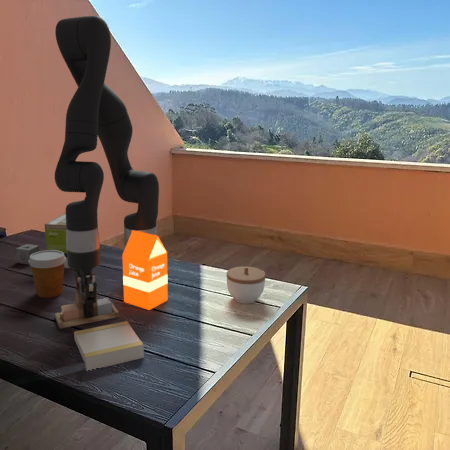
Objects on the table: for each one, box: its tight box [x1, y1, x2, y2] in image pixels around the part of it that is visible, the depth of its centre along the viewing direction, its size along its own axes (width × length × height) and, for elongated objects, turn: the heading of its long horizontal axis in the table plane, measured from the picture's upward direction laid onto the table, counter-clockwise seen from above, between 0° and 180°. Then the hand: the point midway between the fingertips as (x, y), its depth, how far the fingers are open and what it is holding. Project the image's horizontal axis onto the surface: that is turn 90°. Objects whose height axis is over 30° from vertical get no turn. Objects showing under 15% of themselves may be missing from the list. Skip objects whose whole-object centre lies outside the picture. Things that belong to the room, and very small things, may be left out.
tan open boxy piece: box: [54, 289, 120, 329], centre depth 115 cm, size 14×6×8 cm, turn 118°
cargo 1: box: [60, 302, 79, 322], centre depth 113 cm, size 3×3×3 cm
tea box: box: [44, 212, 71, 269], centre depth 155 cm, size 15×10×15 cm, turn 172°
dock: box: [73, 320, 145, 372], centre depth 102 cm, size 12×12×3 cm
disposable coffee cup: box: [28, 249, 66, 299], centre depth 128 cm, size 10×10×12 cm
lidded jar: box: [226, 266, 267, 305], centre depth 130 cm, size 11×11×9 cm
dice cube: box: [15, 243, 41, 266], centre depth 155 cm, size 5×5×5 cm
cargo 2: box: [97, 297, 112, 315], centre depth 117 cm, size 3×3×3 cm
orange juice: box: [121, 230, 169, 311], centre depth 123 cm, size 8×9×20 cm
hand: (86, 312), depth 115 cm, fingers closed on tan open boxy piece, 3 cm apart
